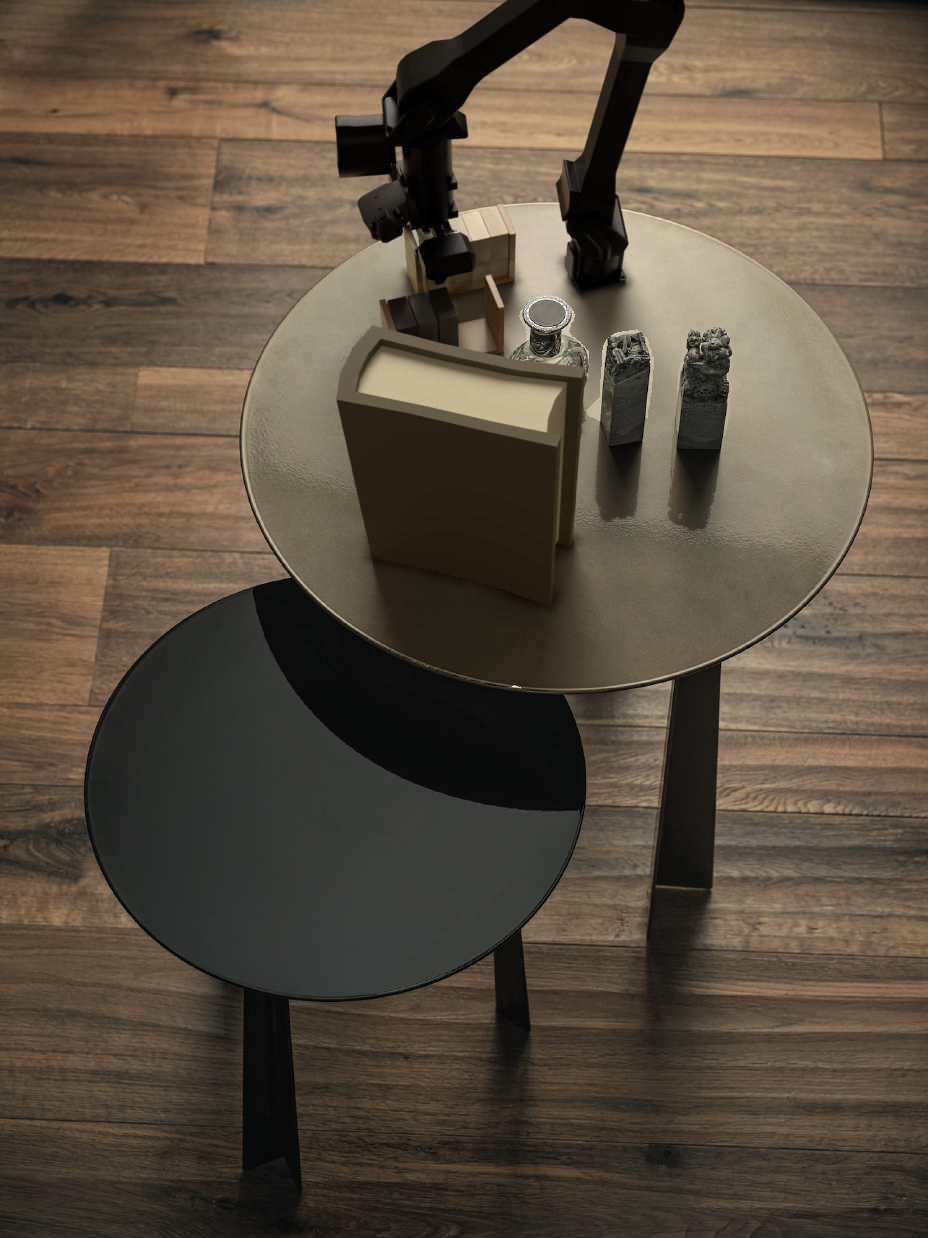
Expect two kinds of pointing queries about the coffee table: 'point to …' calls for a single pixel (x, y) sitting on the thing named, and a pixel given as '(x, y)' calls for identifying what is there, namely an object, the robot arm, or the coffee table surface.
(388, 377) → the book
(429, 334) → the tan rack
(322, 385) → the coffee table surface
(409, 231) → the brown rack
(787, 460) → the coffee table surface
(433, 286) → the cream book
